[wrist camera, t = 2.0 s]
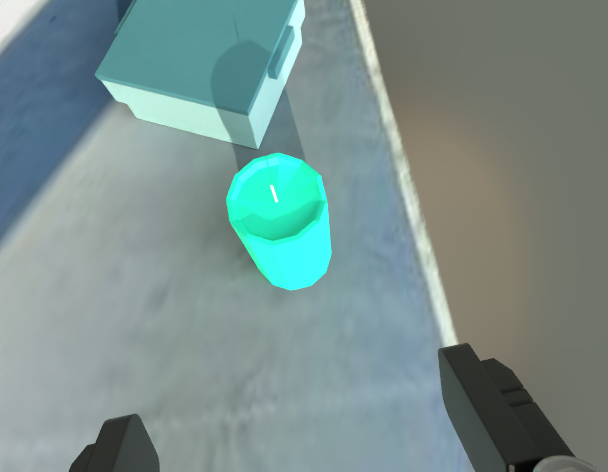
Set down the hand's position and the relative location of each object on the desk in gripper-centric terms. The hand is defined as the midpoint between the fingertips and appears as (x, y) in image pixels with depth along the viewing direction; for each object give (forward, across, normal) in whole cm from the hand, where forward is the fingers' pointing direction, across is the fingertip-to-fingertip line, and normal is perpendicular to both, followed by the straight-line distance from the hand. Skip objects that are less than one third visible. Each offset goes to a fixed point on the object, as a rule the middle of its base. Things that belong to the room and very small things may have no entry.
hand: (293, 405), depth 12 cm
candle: (+24, 0, +7) cm, 25 cm away
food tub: (+37, +4, -6) cm, 37 cm away
